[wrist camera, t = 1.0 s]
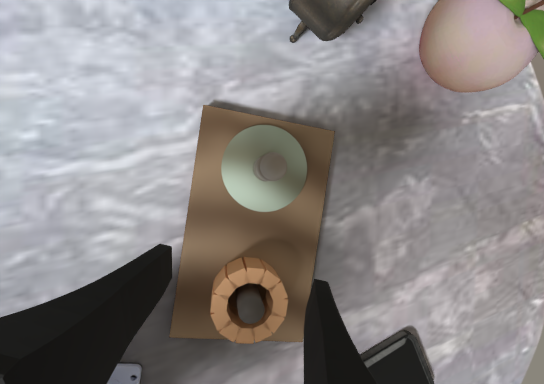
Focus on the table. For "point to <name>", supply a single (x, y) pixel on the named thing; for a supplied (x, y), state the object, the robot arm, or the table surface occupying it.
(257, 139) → the stand board
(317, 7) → the alarm clock
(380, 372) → the black wedge
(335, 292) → the table surface
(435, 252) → the table surface
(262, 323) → the ring
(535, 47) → the decorative fruit
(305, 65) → the table surface
